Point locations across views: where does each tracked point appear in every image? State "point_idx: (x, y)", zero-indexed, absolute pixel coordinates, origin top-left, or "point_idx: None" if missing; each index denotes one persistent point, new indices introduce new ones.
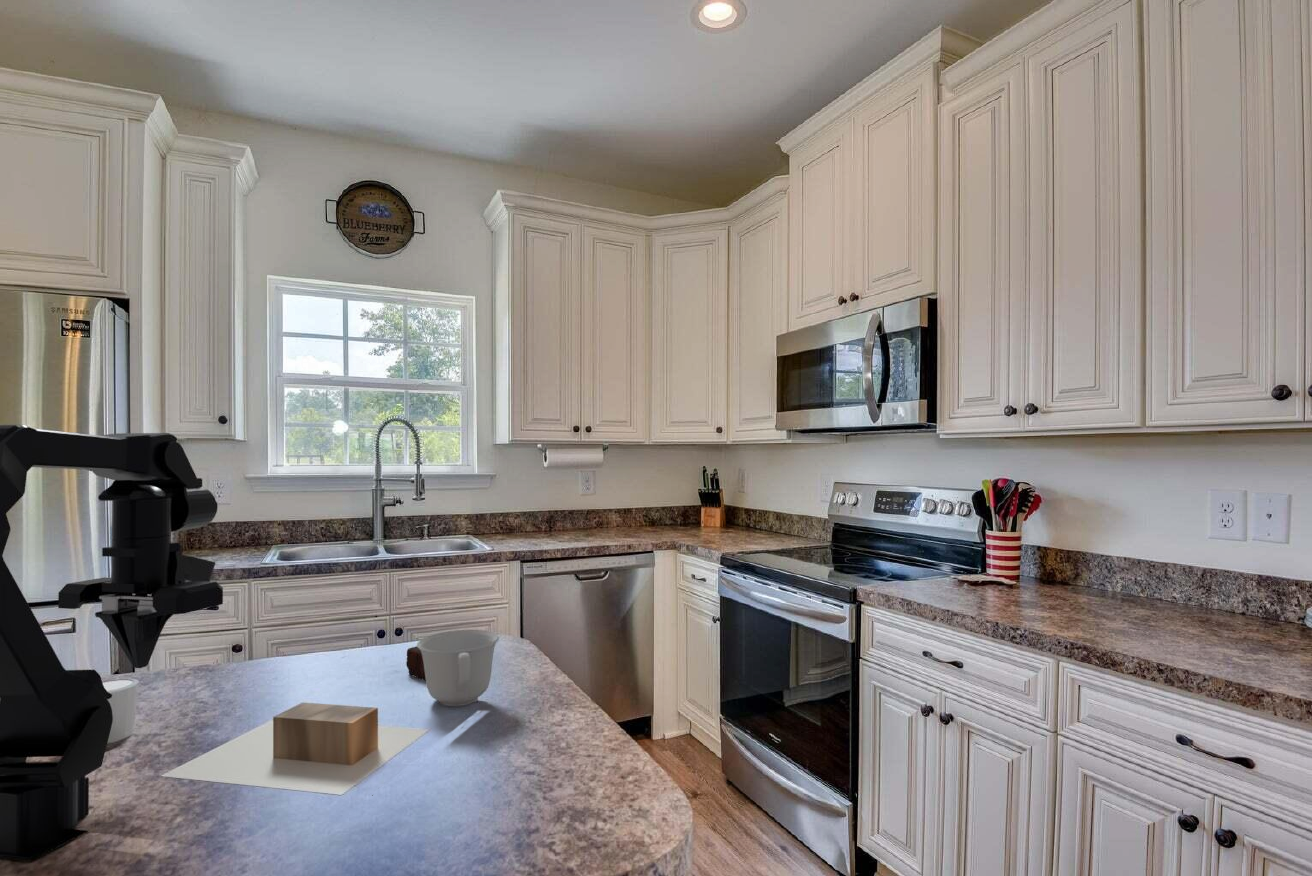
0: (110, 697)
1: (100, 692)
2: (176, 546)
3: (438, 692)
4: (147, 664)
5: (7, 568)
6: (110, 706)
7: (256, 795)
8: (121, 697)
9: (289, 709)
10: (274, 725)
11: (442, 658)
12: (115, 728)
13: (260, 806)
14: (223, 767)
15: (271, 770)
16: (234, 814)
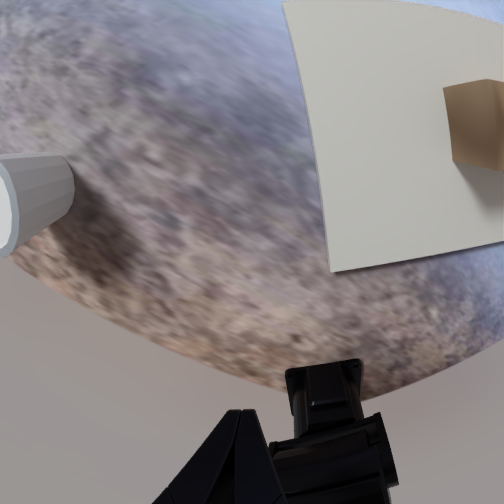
0: (379, 477)
1: (388, 499)
2: None
3: None
4: (255, 412)
5: None
6: (381, 465)
7: None
8: (27, 201)
9: (495, 123)
10: (488, 167)
11: None
12: (62, 196)
13: (496, 258)
14: (406, 214)
15: (477, 199)
16: (481, 281)
